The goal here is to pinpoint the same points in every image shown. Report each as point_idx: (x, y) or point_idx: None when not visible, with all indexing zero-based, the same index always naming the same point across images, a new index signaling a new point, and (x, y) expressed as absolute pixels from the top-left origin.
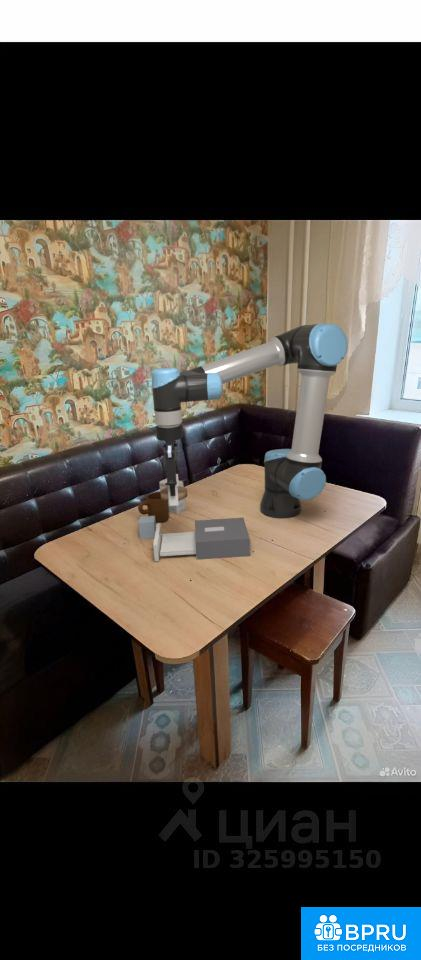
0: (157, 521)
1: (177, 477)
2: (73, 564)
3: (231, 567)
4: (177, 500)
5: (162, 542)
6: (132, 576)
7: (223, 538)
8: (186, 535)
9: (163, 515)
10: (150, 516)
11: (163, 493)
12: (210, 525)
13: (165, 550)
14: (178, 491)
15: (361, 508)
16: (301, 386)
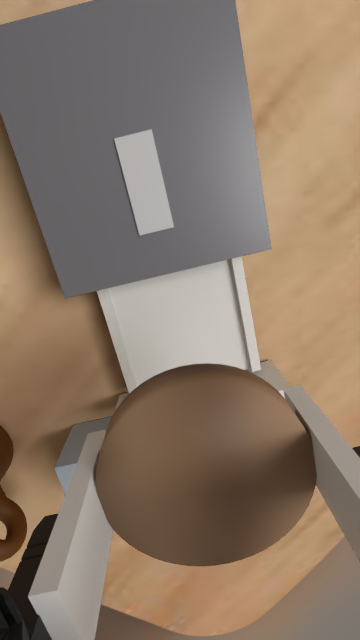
0: (9, 445)
1: (69, 560)
2: (284, 554)
3: (300, 99)
4: (317, 409)
5: None
6: (344, 404)
7: (233, 121)
8: (117, 314)
9: None
10: (64, 481)
11: (263, 535)
12: (104, 213)
13: (249, 355)
14: (218, 447)
15: None
16: None
